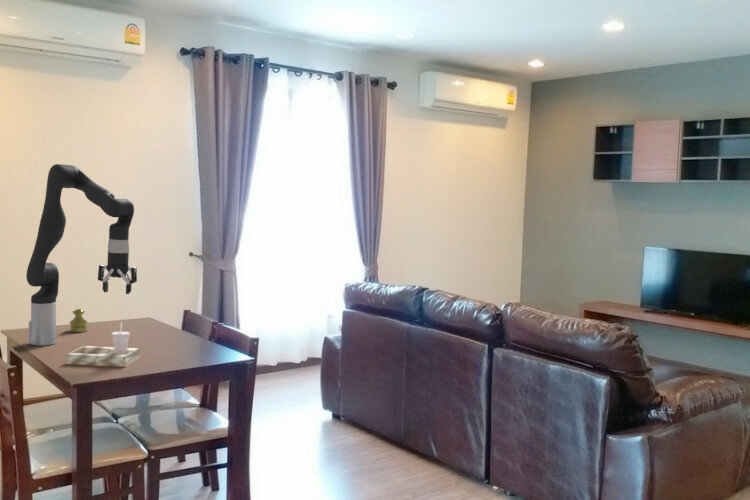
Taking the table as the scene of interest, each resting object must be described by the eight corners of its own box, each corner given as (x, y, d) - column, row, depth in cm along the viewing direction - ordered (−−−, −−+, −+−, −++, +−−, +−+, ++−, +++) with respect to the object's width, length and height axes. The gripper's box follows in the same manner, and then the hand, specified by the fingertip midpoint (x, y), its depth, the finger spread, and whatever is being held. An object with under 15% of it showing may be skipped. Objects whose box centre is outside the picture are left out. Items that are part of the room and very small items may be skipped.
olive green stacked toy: (75, 328, 308) (75, 307, 308) (90, 330, 308) (90, 308, 307) (66, 332, 301) (66, 309, 300) (81, 333, 300) (81, 311, 299)
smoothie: (112, 360, 249) (112, 323, 248) (110, 357, 255) (110, 320, 254) (130, 359, 252) (131, 322, 251) (128, 355, 258) (128, 319, 257)
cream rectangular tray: (66, 364, 247) (66, 354, 247) (83, 355, 261) (83, 345, 261) (125, 366, 247) (125, 356, 246) (139, 357, 261) (139, 348, 260)
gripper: (95, 250, 253) (94, 293, 255) (132, 253, 253) (131, 295, 254) (104, 248, 261) (102, 290, 262) (140, 251, 260) (138, 292, 262)
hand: (116, 292), depth 258 cm, fingers open, 8 cm apart
